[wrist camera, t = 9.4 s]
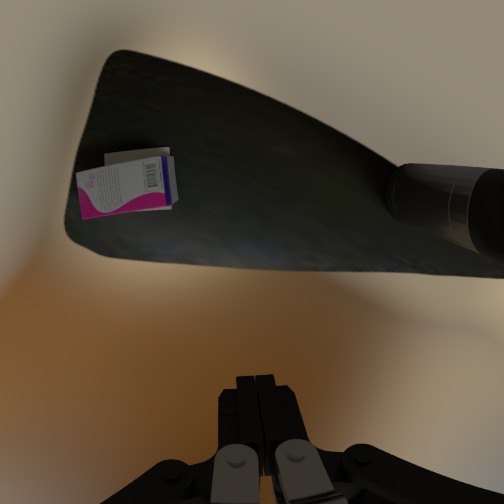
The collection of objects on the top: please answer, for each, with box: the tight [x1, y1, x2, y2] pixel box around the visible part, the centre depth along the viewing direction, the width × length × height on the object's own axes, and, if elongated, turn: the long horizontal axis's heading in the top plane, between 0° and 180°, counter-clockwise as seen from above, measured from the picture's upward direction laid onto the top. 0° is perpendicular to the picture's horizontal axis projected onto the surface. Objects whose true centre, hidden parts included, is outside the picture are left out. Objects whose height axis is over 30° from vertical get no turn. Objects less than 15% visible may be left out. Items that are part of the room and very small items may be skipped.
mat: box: [104, 147, 172, 211], centre depth 36 cm, size 9×8×1 cm
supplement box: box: [76, 155, 178, 219], centre depth 33 cm, size 6×6×12 cm
